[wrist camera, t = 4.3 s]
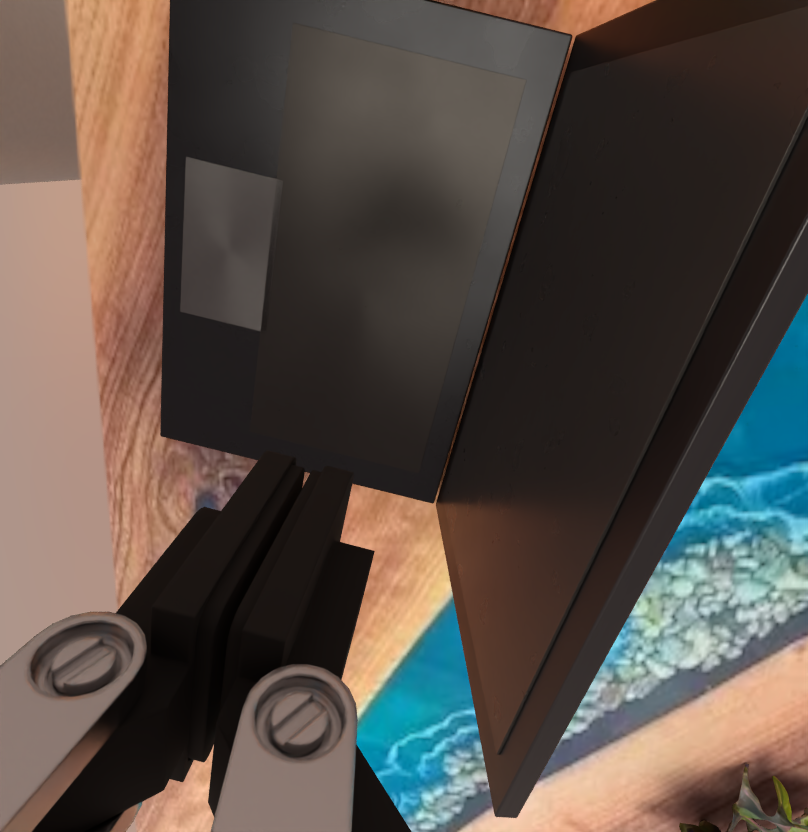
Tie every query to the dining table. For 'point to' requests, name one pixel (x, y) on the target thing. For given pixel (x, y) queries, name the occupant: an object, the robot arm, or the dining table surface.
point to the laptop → (341, 223)
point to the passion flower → (757, 812)
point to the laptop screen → (621, 347)
